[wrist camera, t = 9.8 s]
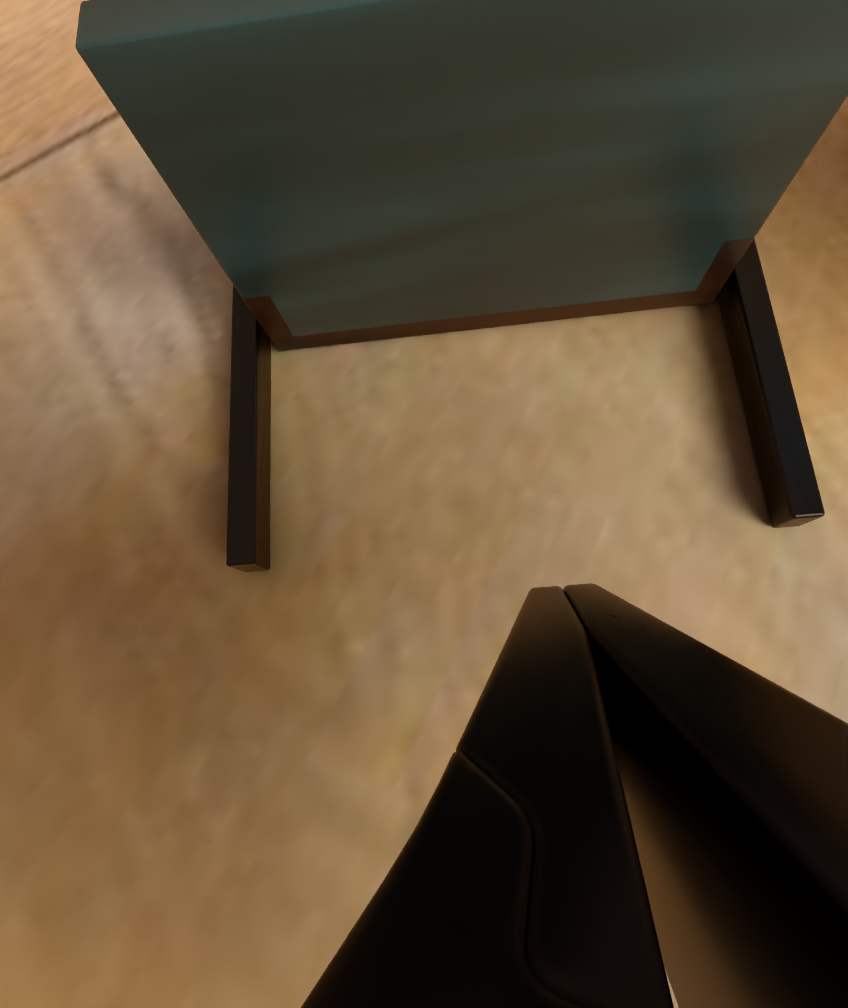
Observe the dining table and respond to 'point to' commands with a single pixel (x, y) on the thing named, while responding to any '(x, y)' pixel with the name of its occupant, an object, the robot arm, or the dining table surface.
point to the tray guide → (756, 372)
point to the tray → (470, 148)
